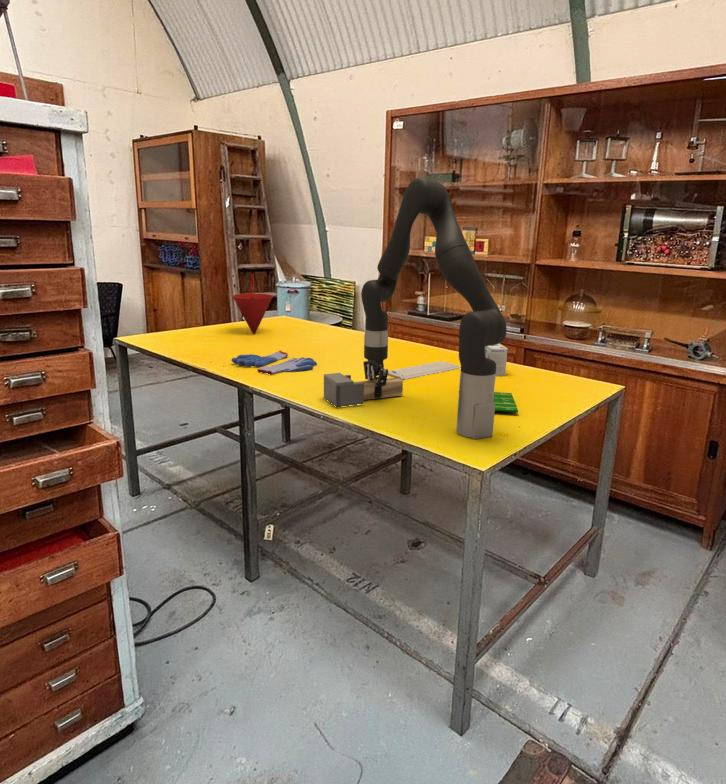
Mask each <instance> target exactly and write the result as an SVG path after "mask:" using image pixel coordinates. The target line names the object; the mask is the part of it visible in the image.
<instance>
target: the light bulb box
mask: <svg viewBox="0 0 726 784" xmlns="http://www.w3.org/2000/svg"><path fill="white" fill-rule="evenodd" d="M508 349H509V348H507V347H506V346H505V345H503V344H501V343H499V344H496V345H491V346H485V357H486V358H488V359H491V360H493V361H495V362H496V377H505V376H506V368H507V360H508Z"/></svg>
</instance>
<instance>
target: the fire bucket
mask: <svg viewBox="0 0 726 784" xmlns="http://www.w3.org/2000/svg"><path fill="white" fill-rule="evenodd" d="M254 278H255V277H254V273H252V275H251V279H250V280H251V281H250V283H252V285H250V288H249V291H248V293H238V294H234V295H232V296H231V297H232V299H233V300H234V302H235V304H236V306H237V307H238V311H239V312H240V313H241V315H242V318H244V322H246V324H247V326H248V328H249V329H250V331H251V333H252V335H256V333H257V331H258V329H259V327H260V325H261V323H262V320H263V318H264V316H265V314H266V313H267V309H268V308H269V305H270V303H271V301H272V299H273V298H274V295H272V294H267V293H253V291H255V290H254V285H255V284H254V283H255V281H254V280H255V279H254ZM251 290H252V291H251Z"/></svg>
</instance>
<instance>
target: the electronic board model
mask: <svg viewBox="0 0 726 784" xmlns="http://www.w3.org/2000/svg"><path fill="white" fill-rule="evenodd" d="M493 402H495V412H496V411H497V412H507V413H508V412H510V413H512V412H513V413H519V409H518V407H517V403H516V402H515V398H514V396H513V394H512V392H504V391H502V392H501V391H500V392H499V391H494V399H493Z"/></svg>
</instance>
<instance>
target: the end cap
mask: <svg viewBox="0 0 726 784" xmlns="http://www.w3.org/2000/svg"><path fill="white" fill-rule="evenodd" d="M354 382H355V381H354V380H352V375H351V374H342V373H341V372H334V373H325V374H324V373H323V399H324V398H325V399H326V400H325V399H324V400H325V401H327V400H328V401H329V402H330V403H329V402H328V401H327V402H328V403H329V404H331V403H332V404H333V405H335V406H336V407H341V406H349V405H357V404H365V402H364V401H365V400H364V383H354ZM332 404H331V405H332ZM333 405H332V406H333ZM335 406H334V407H335ZM336 407H335V408H336Z"/></svg>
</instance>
